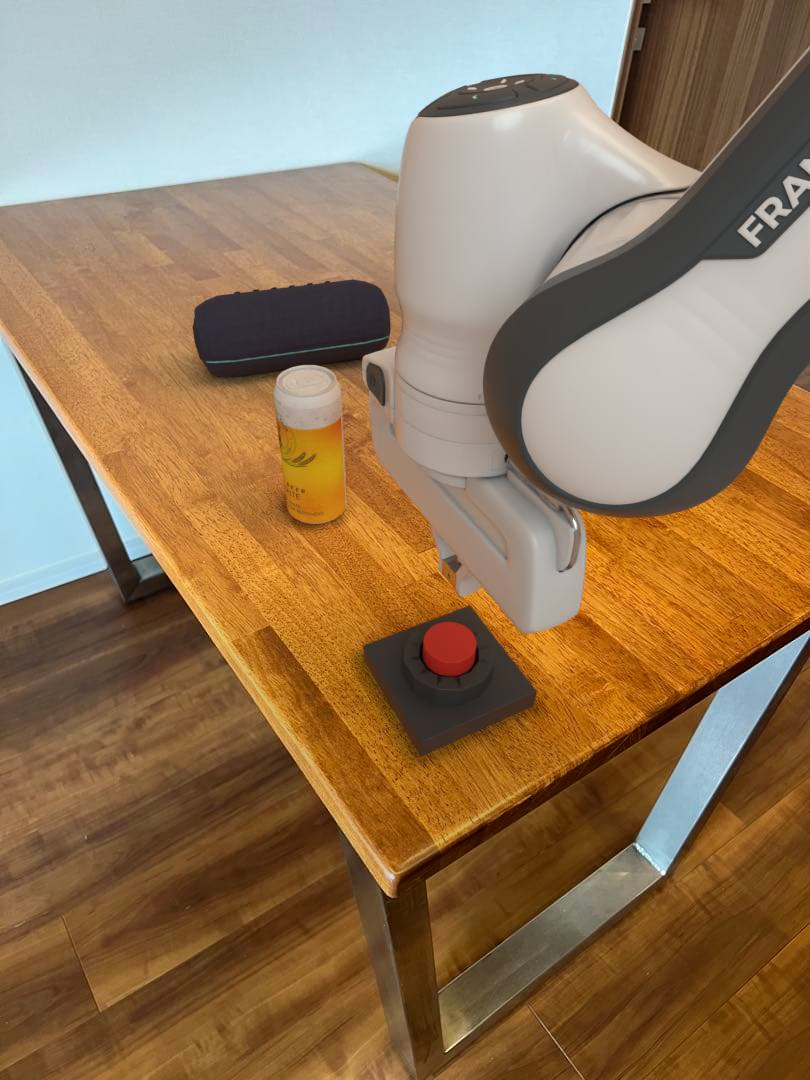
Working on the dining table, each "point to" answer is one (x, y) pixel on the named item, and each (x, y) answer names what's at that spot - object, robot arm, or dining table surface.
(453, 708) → the button base
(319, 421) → the beer can
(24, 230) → the dining table surface
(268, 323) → the portable speaker
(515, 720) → the dining table surface
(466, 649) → the button
